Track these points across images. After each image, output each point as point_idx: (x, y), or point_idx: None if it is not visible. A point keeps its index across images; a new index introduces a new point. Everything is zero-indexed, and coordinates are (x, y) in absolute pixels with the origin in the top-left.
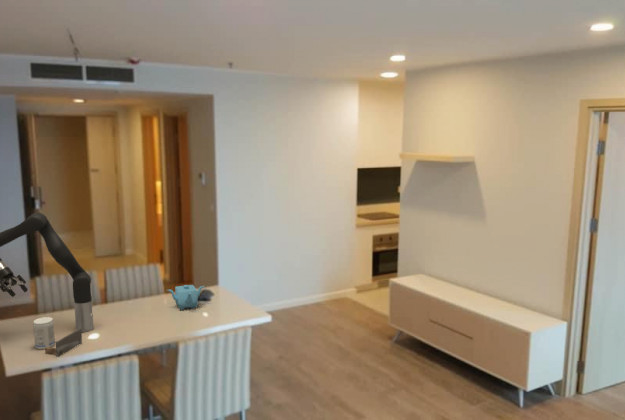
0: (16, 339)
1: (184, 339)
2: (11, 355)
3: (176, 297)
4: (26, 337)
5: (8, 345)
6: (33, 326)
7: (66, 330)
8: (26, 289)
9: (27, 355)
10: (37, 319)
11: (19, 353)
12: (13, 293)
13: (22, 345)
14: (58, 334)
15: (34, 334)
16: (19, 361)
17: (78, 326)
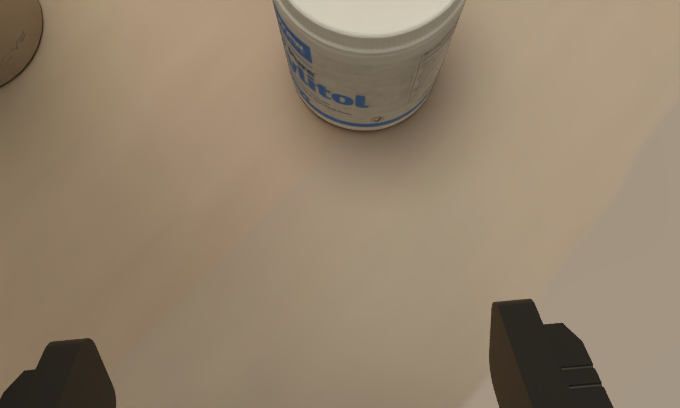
0: (348, 403)
1: None
2: (606, 161)
3: None
4: (281, 355)
5: (473, 356)
6: (449, 27)
7: (39, 151)
8: (78, 347)
9: (554, 48)
10: (376, 16)
11: (553, 134)
12: (545, 331)
13: (426, 242)
14: (134, 147)
15: (447, 46)
16: (656, 18)
17: (16, 1)
